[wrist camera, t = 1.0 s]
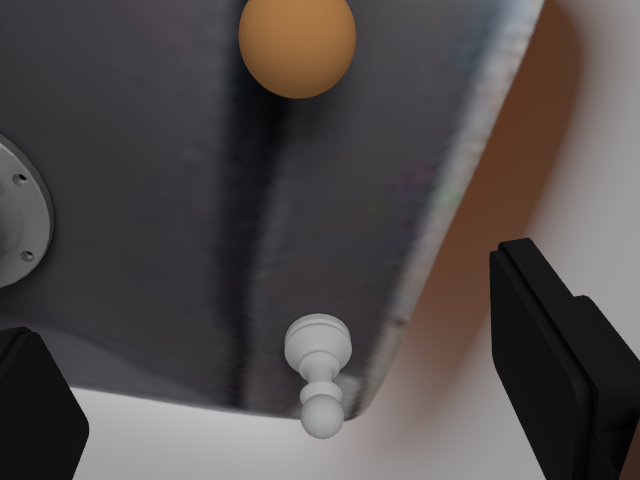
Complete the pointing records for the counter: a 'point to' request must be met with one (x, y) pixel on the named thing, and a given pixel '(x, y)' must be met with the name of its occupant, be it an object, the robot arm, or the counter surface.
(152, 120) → the counter surface
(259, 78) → the ball
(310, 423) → the chess pawn
